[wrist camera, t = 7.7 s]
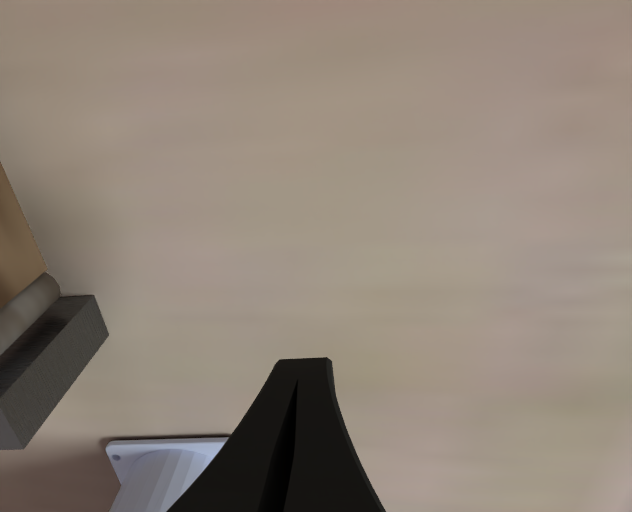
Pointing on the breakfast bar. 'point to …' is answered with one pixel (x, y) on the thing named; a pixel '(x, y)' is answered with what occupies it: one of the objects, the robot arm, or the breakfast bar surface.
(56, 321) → the hinge post
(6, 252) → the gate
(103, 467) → the breakfast bar surface
